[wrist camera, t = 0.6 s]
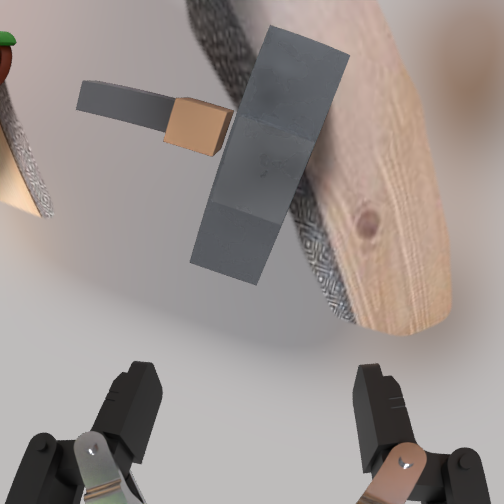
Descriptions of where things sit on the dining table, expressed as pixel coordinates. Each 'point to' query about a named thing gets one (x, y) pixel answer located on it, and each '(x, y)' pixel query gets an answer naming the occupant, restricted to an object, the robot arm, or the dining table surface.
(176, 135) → the plug
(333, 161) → the dining table surface
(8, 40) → the motor
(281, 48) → the housing
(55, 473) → the robot arm
